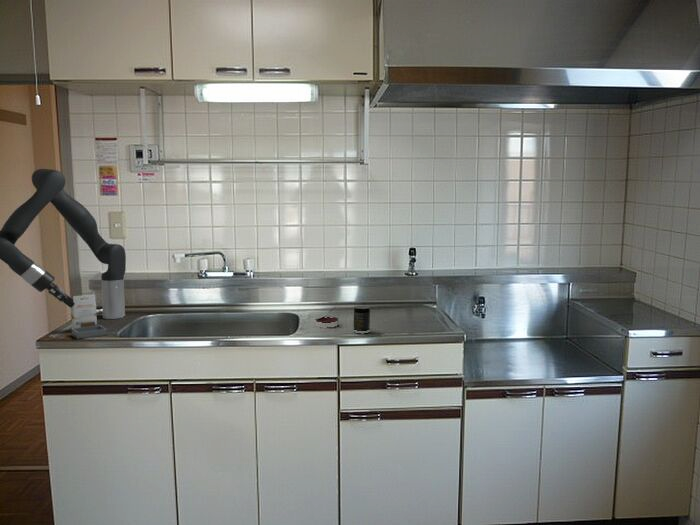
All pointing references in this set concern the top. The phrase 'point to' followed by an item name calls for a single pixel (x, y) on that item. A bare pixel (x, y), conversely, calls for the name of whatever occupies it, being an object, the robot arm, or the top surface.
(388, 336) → the top surface
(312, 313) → the top surface
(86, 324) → the clip stand
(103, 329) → the tray
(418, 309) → the top surface
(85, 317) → the ink box
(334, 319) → the canned food
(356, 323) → the supplement container
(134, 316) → the top surface
